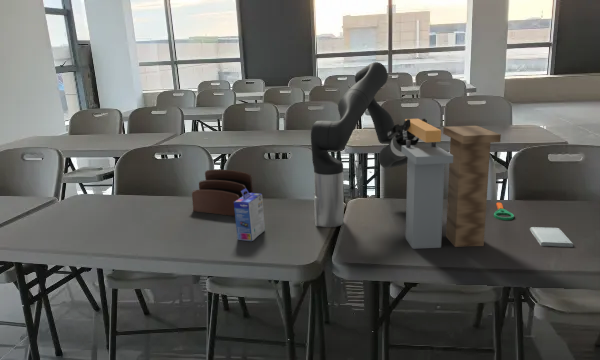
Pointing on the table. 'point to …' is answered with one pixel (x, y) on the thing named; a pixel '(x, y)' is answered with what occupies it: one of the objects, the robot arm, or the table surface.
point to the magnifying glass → (502, 212)
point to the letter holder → (220, 191)
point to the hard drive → (551, 237)
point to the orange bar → (424, 131)
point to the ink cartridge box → (249, 216)
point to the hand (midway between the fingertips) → (416, 122)
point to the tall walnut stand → (468, 183)
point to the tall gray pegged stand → (425, 193)
